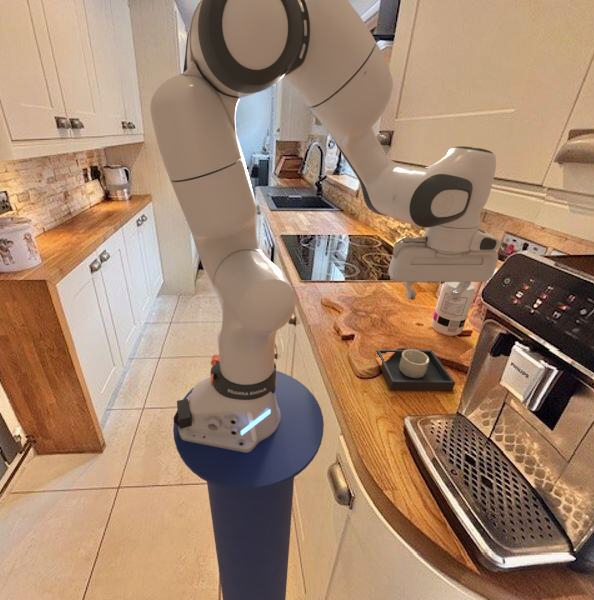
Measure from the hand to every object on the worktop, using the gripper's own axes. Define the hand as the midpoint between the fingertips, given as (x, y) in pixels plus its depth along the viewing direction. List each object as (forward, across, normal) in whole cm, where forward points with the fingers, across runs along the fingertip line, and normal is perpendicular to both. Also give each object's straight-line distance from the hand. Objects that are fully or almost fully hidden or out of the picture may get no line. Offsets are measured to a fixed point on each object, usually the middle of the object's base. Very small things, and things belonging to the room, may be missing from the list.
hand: (431, 298), depth 71 cm
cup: (+20, 0, 0) cm, 20 cm away
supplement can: (+21, +18, +20) cm, 34 cm away
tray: (+21, 0, 0) cm, 21 cm away
